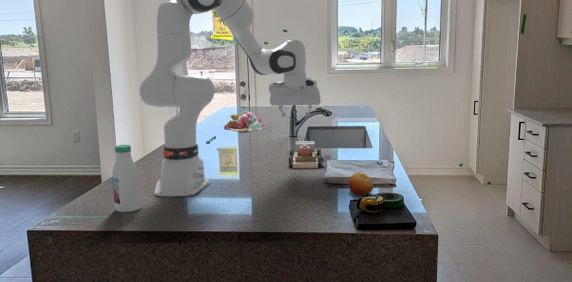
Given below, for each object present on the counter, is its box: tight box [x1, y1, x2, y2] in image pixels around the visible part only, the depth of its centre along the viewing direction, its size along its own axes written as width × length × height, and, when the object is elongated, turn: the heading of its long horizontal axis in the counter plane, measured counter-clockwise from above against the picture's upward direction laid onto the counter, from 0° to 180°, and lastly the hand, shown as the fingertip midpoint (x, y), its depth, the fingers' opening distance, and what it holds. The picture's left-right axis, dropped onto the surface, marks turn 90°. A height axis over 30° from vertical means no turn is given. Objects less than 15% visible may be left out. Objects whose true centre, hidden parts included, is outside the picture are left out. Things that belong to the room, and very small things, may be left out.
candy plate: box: [223, 110, 266, 133], centre depth 298 cm, size 25×24×9 cm
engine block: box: [300, 145, 310, 156], centre depth 209 cm, size 5×4×6 cm
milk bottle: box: [111, 144, 142, 213], centre depth 157 cm, size 8×8×20 cm
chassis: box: [288, 140, 323, 169], centre depth 212 cm, size 20×13×7 cm, turn 178°
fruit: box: [348, 172, 374, 197], centre depth 168 cm, size 8×8×8 cm
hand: (295, 116), depth 206 cm, fingers open, 8 cm apart
